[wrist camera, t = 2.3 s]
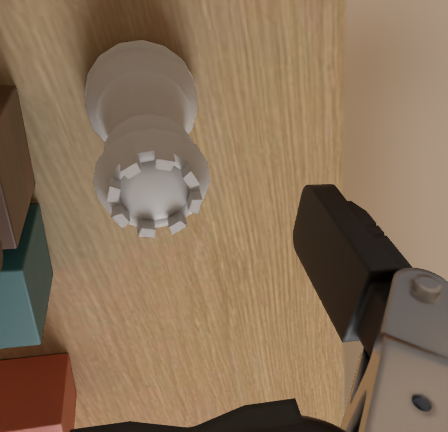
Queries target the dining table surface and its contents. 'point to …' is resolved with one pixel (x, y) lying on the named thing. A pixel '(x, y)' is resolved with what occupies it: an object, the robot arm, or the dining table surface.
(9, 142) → the walnut block
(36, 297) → the teal block
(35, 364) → the terracotta block
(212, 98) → the dining table surface
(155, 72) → the rook chess piece
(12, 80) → the dining table surface
